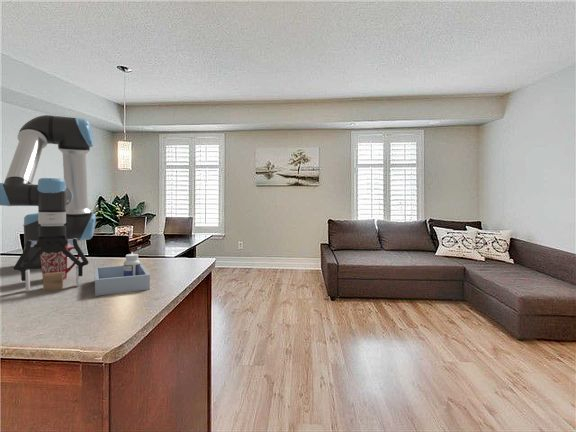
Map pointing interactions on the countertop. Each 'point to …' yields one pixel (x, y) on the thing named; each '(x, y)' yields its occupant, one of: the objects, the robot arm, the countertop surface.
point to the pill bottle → (131, 265)
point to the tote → (119, 280)
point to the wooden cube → (53, 281)
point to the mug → (56, 262)
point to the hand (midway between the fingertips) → (53, 288)
